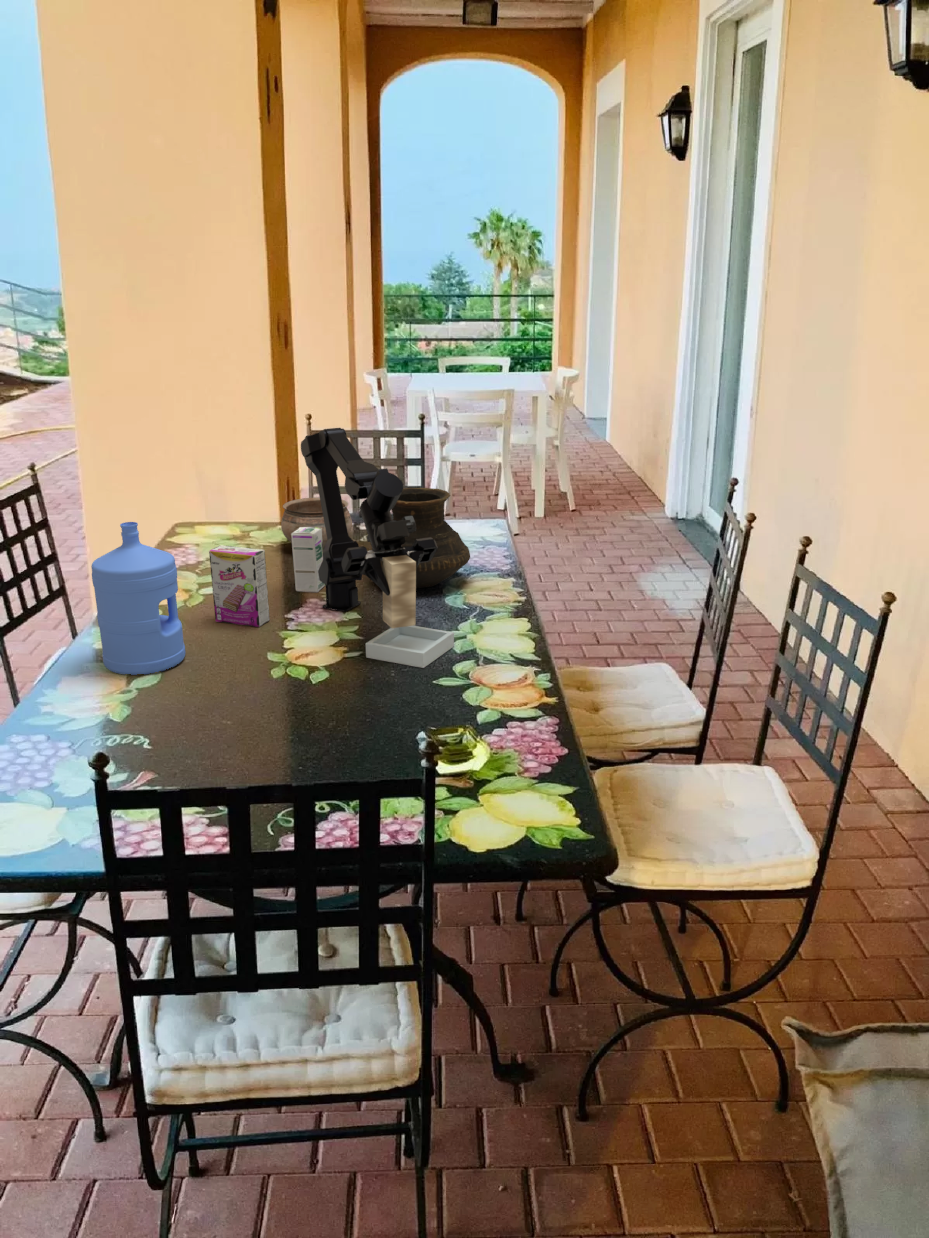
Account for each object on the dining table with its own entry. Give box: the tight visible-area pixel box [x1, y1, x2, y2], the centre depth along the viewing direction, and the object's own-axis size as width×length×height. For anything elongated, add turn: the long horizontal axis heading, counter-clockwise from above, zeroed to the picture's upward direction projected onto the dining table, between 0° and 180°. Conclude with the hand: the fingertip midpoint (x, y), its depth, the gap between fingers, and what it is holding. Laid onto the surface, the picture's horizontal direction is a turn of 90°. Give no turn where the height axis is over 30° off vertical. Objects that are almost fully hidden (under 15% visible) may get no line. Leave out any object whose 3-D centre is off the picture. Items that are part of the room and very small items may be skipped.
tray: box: [365, 625, 455, 669], centre depth 210 cm, size 13×13×3 cm
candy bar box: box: [208, 544, 271, 628], centre depth 226 cm, size 11×5×16 cm, turn 71°
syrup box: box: [291, 527, 325, 593], centre depth 248 cm, size 6×6×14 cm
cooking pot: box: [280, 496, 353, 550], centre depth 281 cm, size 25×19×12 cm
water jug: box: [91, 521, 186, 676], centre depth 202 cm, size 16×16×28 cm
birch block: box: [382, 555, 417, 628], centre depth 205 cm, size 5×5×13 cm
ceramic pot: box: [371, 487, 471, 588], centre depth 250 cm, size 24×24×22 cm
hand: (401, 592), depth 204 cm, fingers closed on birch block, 5 cm apart
